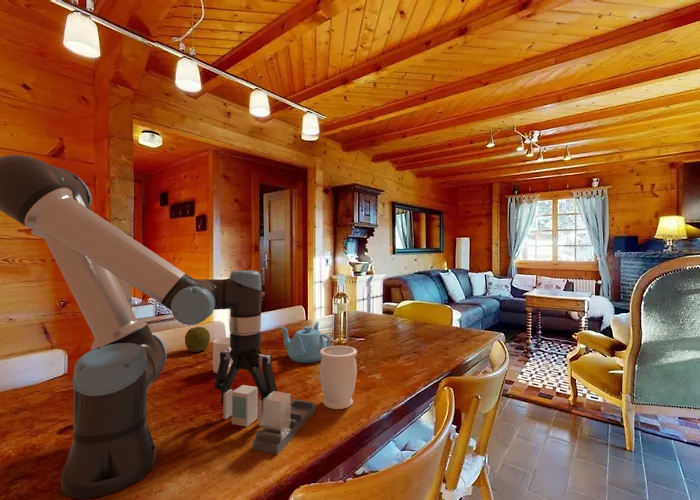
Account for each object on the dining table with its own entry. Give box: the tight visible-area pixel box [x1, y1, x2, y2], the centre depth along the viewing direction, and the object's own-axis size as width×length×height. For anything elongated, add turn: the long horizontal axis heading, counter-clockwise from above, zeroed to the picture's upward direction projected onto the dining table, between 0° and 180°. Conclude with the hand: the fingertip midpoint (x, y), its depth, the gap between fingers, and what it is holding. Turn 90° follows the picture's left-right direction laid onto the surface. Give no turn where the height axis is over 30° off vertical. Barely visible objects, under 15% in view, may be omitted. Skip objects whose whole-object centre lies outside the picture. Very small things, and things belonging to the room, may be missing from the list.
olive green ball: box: [184, 324, 211, 353], centre depth 144 cm, size 10×10×11 cm
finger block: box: [231, 384, 259, 428], centre depth 87 cm, size 5×4×8 cm
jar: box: [319, 345, 358, 410], centre depth 97 cm, size 11×10×15 cm
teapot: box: [279, 321, 331, 364], centre depth 137 cm, size 17×19×12 cm
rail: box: [252, 390, 316, 456], centre depth 83 cm, size 20×6×10 cm, turn 162°
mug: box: [212, 336, 233, 375], centre depth 120 cm, size 9×12×11 cm
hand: (245, 419), depth 87 cm, fingers open, 9 cm apart
